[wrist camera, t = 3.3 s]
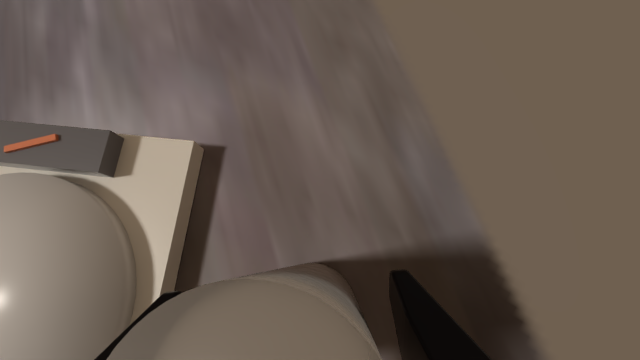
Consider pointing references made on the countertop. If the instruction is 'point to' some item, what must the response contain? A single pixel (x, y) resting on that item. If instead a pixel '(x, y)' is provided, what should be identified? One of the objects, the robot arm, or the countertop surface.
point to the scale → (86, 234)
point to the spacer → (256, 321)
